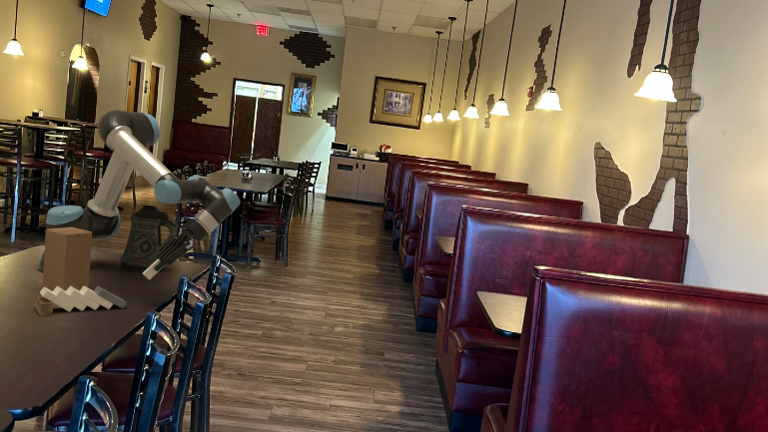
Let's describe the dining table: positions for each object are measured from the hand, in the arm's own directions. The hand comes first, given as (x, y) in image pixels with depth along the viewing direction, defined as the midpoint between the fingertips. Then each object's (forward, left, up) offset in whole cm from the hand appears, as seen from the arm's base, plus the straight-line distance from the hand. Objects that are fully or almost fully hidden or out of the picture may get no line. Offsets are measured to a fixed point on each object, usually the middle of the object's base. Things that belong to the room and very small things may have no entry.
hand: (145, 276), depth 206 cm
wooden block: (-28, -9, -10) cm, 31 cm away
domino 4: (-4, -10, -9) cm, 14 cm away
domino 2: (-6, -17, -9) cm, 20 cm away
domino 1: (-7, -21, -8) cm, 24 cm away
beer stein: (-41, +33, -10) cm, 53 cm away
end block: (-10, -27, -9) cm, 30 cm away
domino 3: (-5, -14, -9) cm, 17 cm away
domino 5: (-2, -6, -8) cm, 11 cm away
